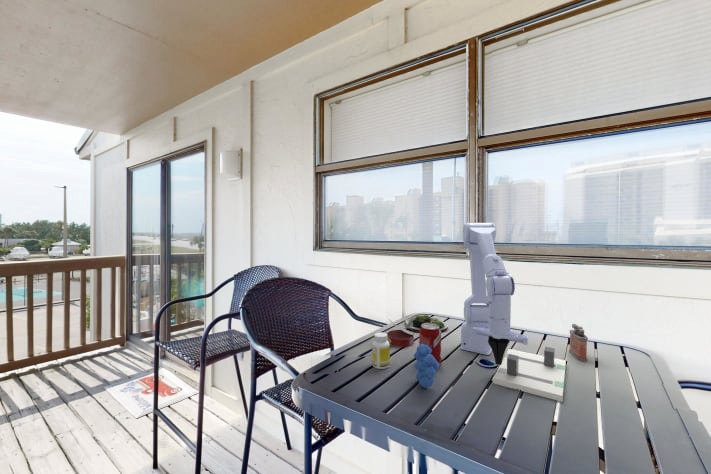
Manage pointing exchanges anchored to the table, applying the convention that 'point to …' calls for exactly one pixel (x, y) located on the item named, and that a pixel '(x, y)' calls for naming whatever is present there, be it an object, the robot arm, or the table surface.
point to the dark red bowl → (400, 337)
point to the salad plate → (418, 320)
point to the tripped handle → (512, 364)
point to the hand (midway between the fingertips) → (498, 363)
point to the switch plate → (533, 375)
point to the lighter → (578, 343)
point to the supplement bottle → (380, 351)
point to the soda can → (431, 339)
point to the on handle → (549, 356)
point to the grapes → (425, 365)
